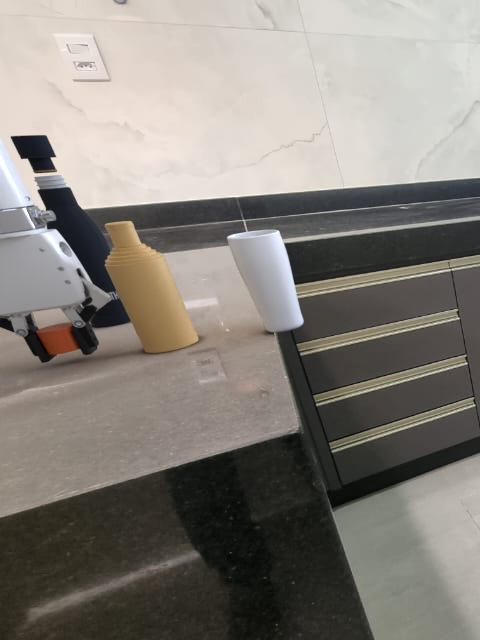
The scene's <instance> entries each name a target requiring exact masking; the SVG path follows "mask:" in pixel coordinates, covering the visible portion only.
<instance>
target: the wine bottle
mask: <svg viewBox="0 0 480 640" xmlns="http://www.w3.org/2000/svg"><path fill="white" fill-rule="evenodd" d="M10 139H11V141H12V144H13V145H14V148H15V150H16V152H17V154H18V156H19V158H20V159H21V160H28V163H29V165H30V167H31V169H32V172H33V173H34V174H48V173H49V174H50V173H57V172H58V169H57V168H56V166H55V164H54V161H53V160H52V158H57V155H56V153H55V150H54V148H53V146H52V144H51V142H50V140H49V138H48V135H46V134H35V135H34V134H29V135H28V134H26V135H25V134H24V135H11V136H10ZM33 180H34V182H35V183H36V187H38V189H37V194H38V195H39V198H40V199H41V201H42V203H43V206H44V207H45V211H49V210H51V211H53V212H54V214H55V216H56V220H55V221H49V222H47V226H46V228H47V230H49V229H56V230H57V231H58V232H59V233H60V235H61V236H62V237H63V238H64V240H65V241H66V242H67V244H68V245H69V246H70V248H71V249H72V251H73V252H74V254H75V255H76V257H77V258H78V260H79V261H80V263H81V264H82V266H83V268H84V269H85V271H86V273H87V274H88V276H89V278H90V280H91V282H92V284H94V285H95V286H97V287H98V288H100V289H101V290H103V291H104V292H106V293H107V294H109V295H110V296H111V297H112V299H111V301H109V302H108V303H107V304H105V305H104V306H103V307H102V308H100V309H99V310H98V311H97V313H96V314H95V315H94V317H93V318H92V320H91V321H90V322H89V323H90V325H91V327H94V328H104V327H105V328H106V327H113V326H118V325H122V324H126V323H131V320H130V318H129V316H128V314H127V312H126V310H125V308H124V305H123V303H122V301H121V299H120V297H119V295H118V293H117V291H116V288H115V286H114V284H113V282H112V280H111V278H110V276H109V273H108V271H107V269H106V267H105V264H106V263H105V260H107V259H108V258H107V256H109V255H110V252H111V251H112V250H111V248H110V245H109V243H108V241H107V239H106V237H105V234H104V233H103V232H102V231H101V229H100V228H99V226H98V225H97V223H96V222H95V221H94V220H93V218H92V217H91V216H90V215H89V214H88V213H87V212H86V211H85V210H84V208H82V207H81V206H80V205H79V203H78V201H77V199H76V196H75V195H74V192H73V190H72V188H71V187H70V186H67V182H66V181H65V178H64V177H63V176H62V175H61V174H58V175H57V174H56V175H43V176H41V175H40V176H34V177H33ZM91 302H92V298H91V297H89V298H86V299H85V301H84V302H82V303H81V304H82V306H83V307H85V306H87V305H88V304H89V303H91Z"/></svg>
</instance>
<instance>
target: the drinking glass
mask: <svg viewBox="0 0 480 640" xmlns="http://www.w3.org/2000/svg"><path fill="white" fill-rule="evenodd" d="M226 240H227V243H228V247H229V250H230V253H231V256H232V258H233V261H234V264H235V266H236V268H237V270H238V272H239V274H240V277H241V279H242V280H243V283H244V285H245V288H246V289H247V292H248V294H249V295H250V298H251V300H252V302H253V304H254V306H255V308H256V310H257V312H258V315H259V317H260V319H261V322H262V324H263V327H264V329H265V330H266V332H269V333H271V334H272V333H273V334H277V333H279V334H280V333H286V332H290V331H294V330H296V329H298V328H301V327H302V326H303V325H304V324H305V323H304V322H305V320H304V317H303V313H302V311H301V307H300V302H299V299H298V294H297V289H296V285H295V281H294V276H293V271H292V267H291V263H290V257H289V255H288V251H287V248H286V245H285V242H284V240H283V237H282V235H281V232H280V230H278V229H260V230H252V231H245V232H239V233H234V234H230V235H228V236H227V237H226Z"/></svg>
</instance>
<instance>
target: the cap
mask: <svg viewBox="0 0 480 640" xmlns="http://www.w3.org/2000/svg"><path fill="white" fill-rule="evenodd" d="M73 328H74V327H73V325H72V323H71V322H69V321H68V322H62V323H56V324H52V325H47V326H44V327H40V328H39V329H38V330H37V331H36V334H37V335H38V337H39V339H40V341H41V342H42V344H43V346H44V348H45V349H46V351H47V353H48V354H50V355H55V354H57V355H63V354H67V353H72V352H75V351H78V350H81V349H80V348H79V346H78V344H77V342H76V340H75V338H74V336H73V334H72V332H71V330H72V329H73Z"/></svg>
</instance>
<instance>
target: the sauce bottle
mask: <svg viewBox="0 0 480 640" xmlns="http://www.w3.org/2000/svg"><path fill="white" fill-rule="evenodd" d="M104 228H105V231H107V233H108V235H109V237H110V239H111V242H112V244H113V247H112V248H111V249H112V250H111V252H110V255H109V256H107V258H108V259H107V260H105V263H106V264H105V267H106V269H107V271H108V273H109V276H110V278H111V280H112V282H113V284H114V286H115V288H116V291H117V293H118V295H119V297H120V299H121V301H122V303H123V305H124V308H125V310H126V312H127V314H128V316H129V318H130V320H131V321H130V323H131V324H132V327H133V329H134V331H135V333H136V335H137V338H138V340H139V342H140V343H141V346H142V348H143V350H144V352H145V353H148V354H161V353H167V352H172V351H176V350H180V349H183V348H187V347H189V346H192V345H194V344H196V343H197V342H198V341H199V336H198V334H197V332H196V329H195V325H194V324H193V321H192V320H191V317H190V315H189V312H188V310H187V307H186V305H185V303H184V300H183V298H182V296H181V293H180V292H179V289H178V286H177V284H176V282H175V279H174V277H173V273H172V272H171V270H170V267H169V265H168V263H167V260H166V258H165V255H163V254H162V253H161V252H159V251H157V250H156V249H153V248H151V246H149V245H148V246H147V245H146V243H142V242H141V239H140V237H139V235H138V232H137V230H136V228H135V224H134V223H133V221H131V220H126V221H125V220H123V221H114V222H108V223H105V224H104Z"/></svg>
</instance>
